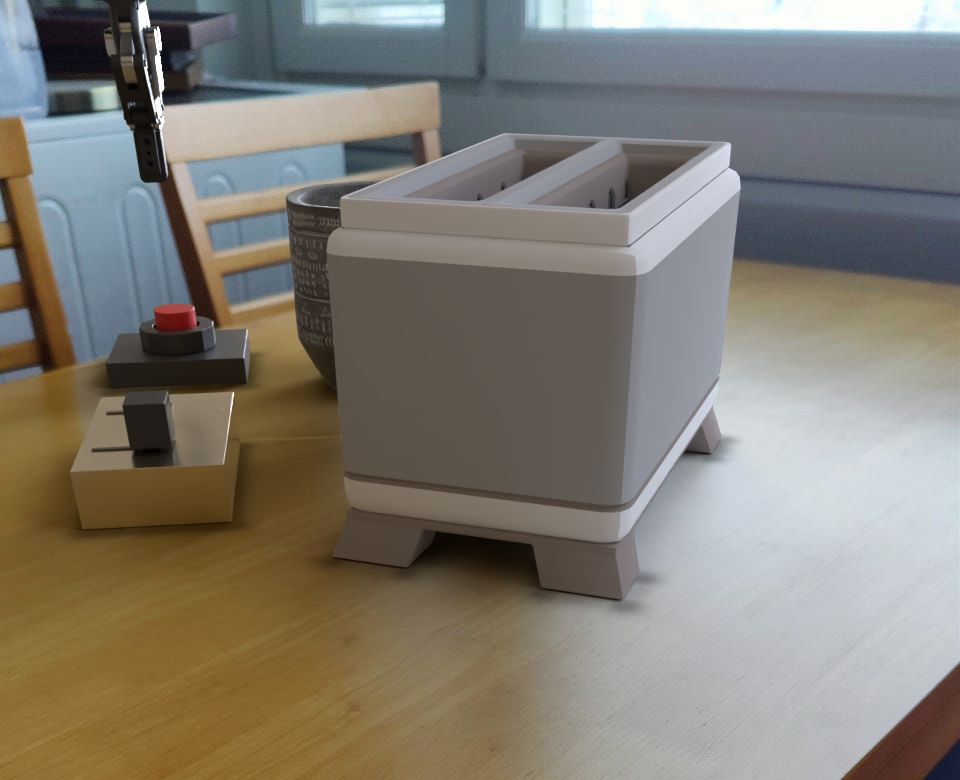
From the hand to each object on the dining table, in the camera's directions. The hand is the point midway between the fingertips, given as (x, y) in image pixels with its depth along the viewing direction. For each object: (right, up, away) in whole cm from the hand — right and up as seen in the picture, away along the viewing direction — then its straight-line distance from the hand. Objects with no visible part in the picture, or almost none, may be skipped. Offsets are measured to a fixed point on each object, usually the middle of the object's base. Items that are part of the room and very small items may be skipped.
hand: (154, 181), depth 102 cm
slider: (+5, -28, -19) cm, 34 cm away
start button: (0, -9, +7) cm, 12 cm away
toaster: (+33, -30, -14) cm, 47 cm away
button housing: (0, -12, +9) cm, 15 cm away
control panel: (+5, -30, -13) cm, 33 cm away
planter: (+19, -15, +6) cm, 25 cm away
